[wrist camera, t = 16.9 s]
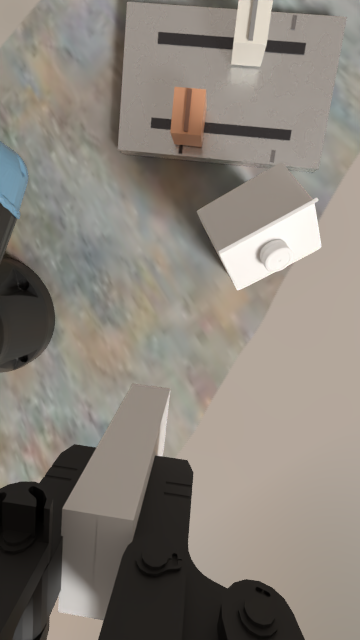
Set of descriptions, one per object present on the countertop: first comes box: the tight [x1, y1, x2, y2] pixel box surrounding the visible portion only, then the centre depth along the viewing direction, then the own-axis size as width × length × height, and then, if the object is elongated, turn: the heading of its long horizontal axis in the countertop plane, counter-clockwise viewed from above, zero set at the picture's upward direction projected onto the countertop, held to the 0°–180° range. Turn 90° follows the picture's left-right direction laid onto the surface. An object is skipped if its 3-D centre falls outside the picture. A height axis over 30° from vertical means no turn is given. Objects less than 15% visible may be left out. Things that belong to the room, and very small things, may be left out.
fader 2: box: [231, 0, 273, 67], centre depth 33 cm, size 3×4×4 cm
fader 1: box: [170, 87, 207, 147], centre depth 35 cm, size 3×4×4 cm
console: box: [118, 2, 347, 173], centre depth 37 cm, size 22×14×2 cm, turn 84°
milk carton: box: [197, 162, 321, 290], centre depth 32 cm, size 7×7×19 cm
